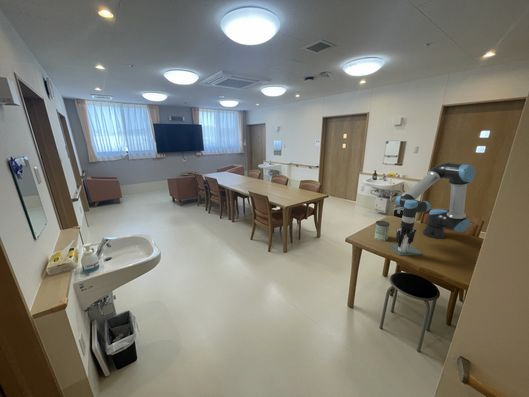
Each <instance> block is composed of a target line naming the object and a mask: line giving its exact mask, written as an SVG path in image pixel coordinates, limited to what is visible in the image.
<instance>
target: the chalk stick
mask: <svg viewBox="0 0 529 397" xmlns="http://www.w3.org/2000/svg"><path fill="white" fill-rule="evenodd" d="M407 242H408V237H407V236H406V235H405V236H404V238H403V241H402V244H403V245H402V250H401V252H403V253H405V252H406V248H407Z"/></svg>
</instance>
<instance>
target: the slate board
mask: <svg viewBox="0 0 529 397" xmlns="http://www.w3.org/2000/svg"><path fill="white" fill-rule="evenodd" d="M388 247H389V249H391V250H392V251H393V252H394V253H396V254H397V255H398V256H399V257H401V256H404V257H405V256H423V252H422V251H420V250H419V249H417V248H416V247H415V246H413V245H412V244H410V245H409V247H408V251H406V252H405V253H403V252H400V251H399V250H398V243H396V244H388Z"/></svg>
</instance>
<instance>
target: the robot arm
mask: <svg viewBox="0 0 529 397" xmlns="http://www.w3.org/2000/svg"><path fill="white" fill-rule="evenodd" d="M476 175H477V174H476V169H475V167H474V166H472V165H471V164H462V163H453V162H443V163H440V164H438V165H436V166H434V167H433V168H431V169H430V170H429V171H428V172H427V174H426V175H425V176H424V177H423V178H422V179H420V181H418V182H417V183H416V184H414V186H412V187H411V189H410V190H408V191H407V192H406V193H405V194H404V195H399V196H396V198H395V204H396V205H398V206H400V207H403V211H402V218H401V222H400V228H399V229H398V228H397V229H396V230H395V231H396V235H395V236H396V237H395V241H396V243H397V244H398V250H399V251H400V252H401V250H402V245H403V244H402V241H403V238H404V236H407V237H408V242H407V248H406V251H408V247H409V245H412V243H414V239H415V234H416V232H417V229H415V228H414V226H415V220H416V215H417V214H419V213H425V212H428V211H429V212H428V219H427V223H426V226H425V227H424V229H423V231H422V234H423V235H424V236H426V237H428V238H429V237H430V238H432V239H439V240H440V239H444V238H445V237H446V234H445V228H446V229H449V230H451V231H453V232H458V233H462V232H464V231H467V229H468V228H469V227H470V224H471V221H470V219H468V218H467V214H466V213H465V208H466V197H467V187H468V186H467V185H469V184H471V182H472V181H473V180H474V179H475V177H476ZM441 179H447V180H448V183H449V184H450V196H449V207H448V208H449V210H447V209H443V208H432V209H431V207H432V206H431V203H430V202H428V201H427V200H417V199H418V198H419V197H420V196H421V195H422V194H424V193H425V191H426V190H428V189H429V188H430V187H431V186H432V185H433V184H435V183H436V182H438V181H441Z"/></svg>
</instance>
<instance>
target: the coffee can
mask: <svg viewBox="0 0 529 397" xmlns="http://www.w3.org/2000/svg"><path fill="white" fill-rule="evenodd" d="M390 225H391V224H390V222H388V221H386V220H376V221H375V226H374V236H373V237H374V239H375V240H378V241H381V242H382V241H385V242H386V241H387V240H388V238H389V237H388V236H389V231H390V230H389V229H390Z"/></svg>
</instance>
